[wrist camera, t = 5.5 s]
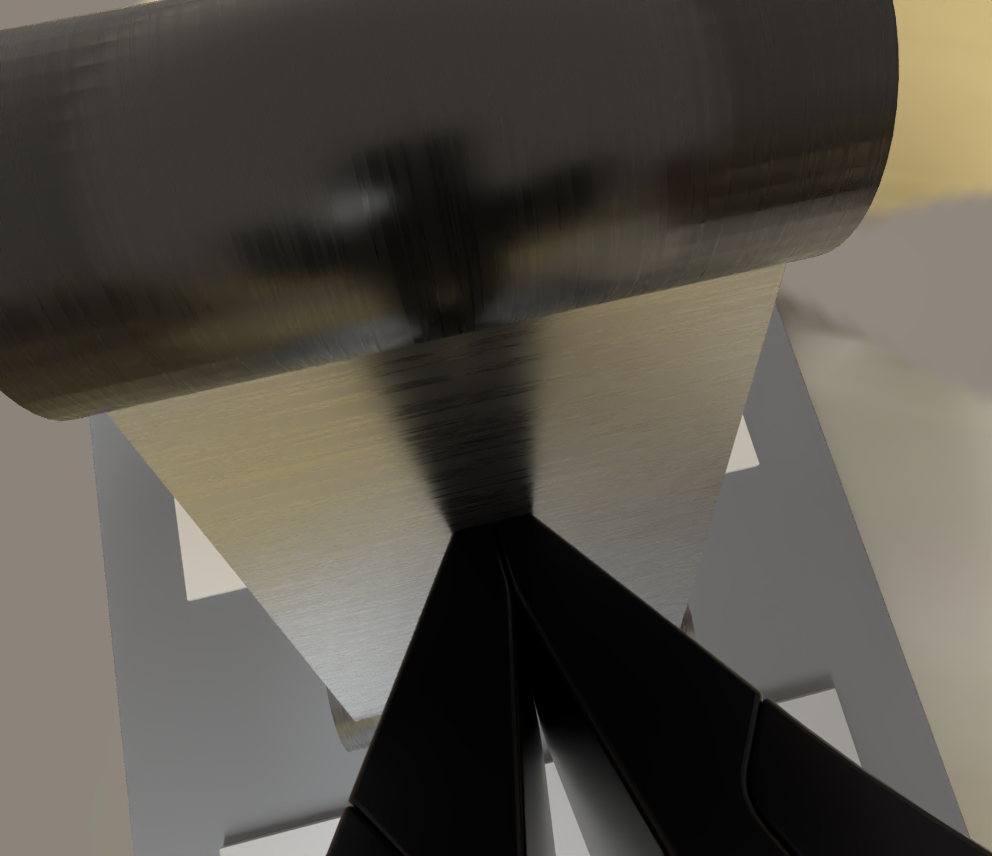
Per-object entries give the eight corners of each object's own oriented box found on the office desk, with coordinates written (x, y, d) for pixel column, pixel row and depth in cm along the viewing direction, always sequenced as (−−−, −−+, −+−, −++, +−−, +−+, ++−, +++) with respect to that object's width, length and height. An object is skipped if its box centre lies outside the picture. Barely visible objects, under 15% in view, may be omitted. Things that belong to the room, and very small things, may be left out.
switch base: (947, 924, 14) (1031, 978, 12) (216, 1132, 14) (162, 1232, 11) (722, 274, 18) (754, 223, 16) (130, 403, 17) (76, 369, 15)
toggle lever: (692, 694, 13) (979, -29, 4) (362, 779, 12) (-208, 202, 3) (643, 567, 14) (767, -174, 5) (347, 639, 14) (-78, -21, 5)
